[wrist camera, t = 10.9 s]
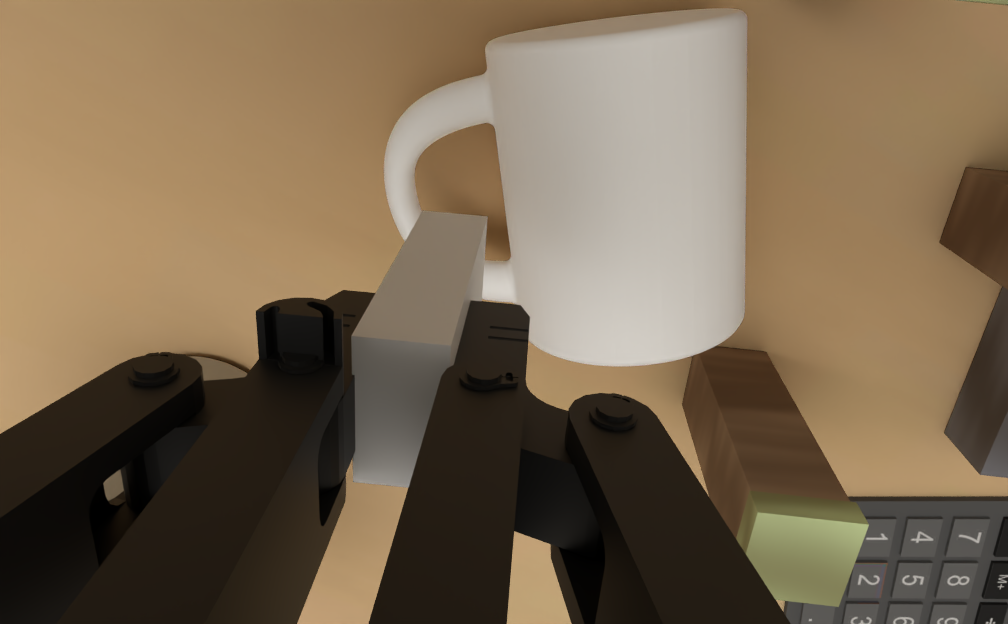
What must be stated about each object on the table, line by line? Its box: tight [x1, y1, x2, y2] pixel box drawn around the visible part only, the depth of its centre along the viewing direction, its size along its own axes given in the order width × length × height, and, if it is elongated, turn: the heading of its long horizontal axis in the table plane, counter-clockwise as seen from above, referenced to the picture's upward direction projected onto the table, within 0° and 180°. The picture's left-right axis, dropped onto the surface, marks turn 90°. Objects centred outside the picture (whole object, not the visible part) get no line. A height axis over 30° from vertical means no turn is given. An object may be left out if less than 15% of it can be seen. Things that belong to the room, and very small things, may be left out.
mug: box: [384, 8, 747, 366], centre depth 25 cm, size 12×10×8 cm
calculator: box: [784, 497, 1008, 624], centre depth 36 cm, size 12×1×15 cm
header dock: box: [682, 0, 1008, 607], centre depth 23 cm, size 20×13×11 cm, turn 175°
